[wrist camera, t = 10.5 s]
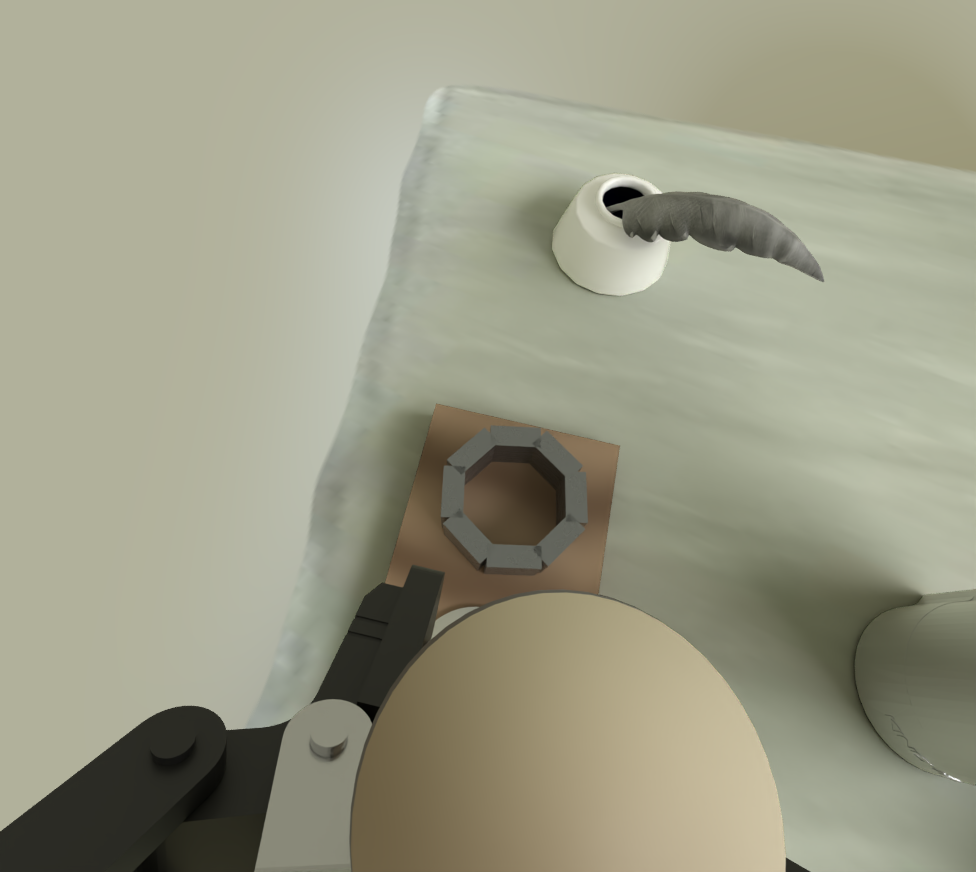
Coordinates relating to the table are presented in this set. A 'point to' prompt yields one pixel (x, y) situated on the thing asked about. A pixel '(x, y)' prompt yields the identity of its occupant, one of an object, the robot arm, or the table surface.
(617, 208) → the inkwell
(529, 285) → the table surface
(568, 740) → the wooden peg
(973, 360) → the table surface
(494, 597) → the walnut board
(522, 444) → the ring
